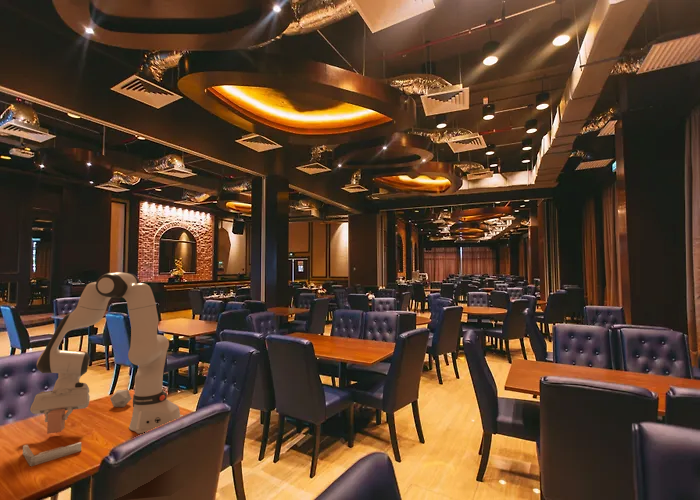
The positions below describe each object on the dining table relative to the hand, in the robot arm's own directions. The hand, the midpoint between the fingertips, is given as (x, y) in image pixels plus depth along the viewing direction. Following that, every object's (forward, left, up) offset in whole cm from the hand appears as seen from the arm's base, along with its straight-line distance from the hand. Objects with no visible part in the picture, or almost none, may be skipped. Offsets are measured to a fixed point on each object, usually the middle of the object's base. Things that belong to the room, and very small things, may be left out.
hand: (55, 420), depth 155 cm
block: (0, -1, -4) cm, 4 cm away
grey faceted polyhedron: (-11, -34, -7) cm, 36 cm away
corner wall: (-8, +15, -7) cm, 18 cm away
